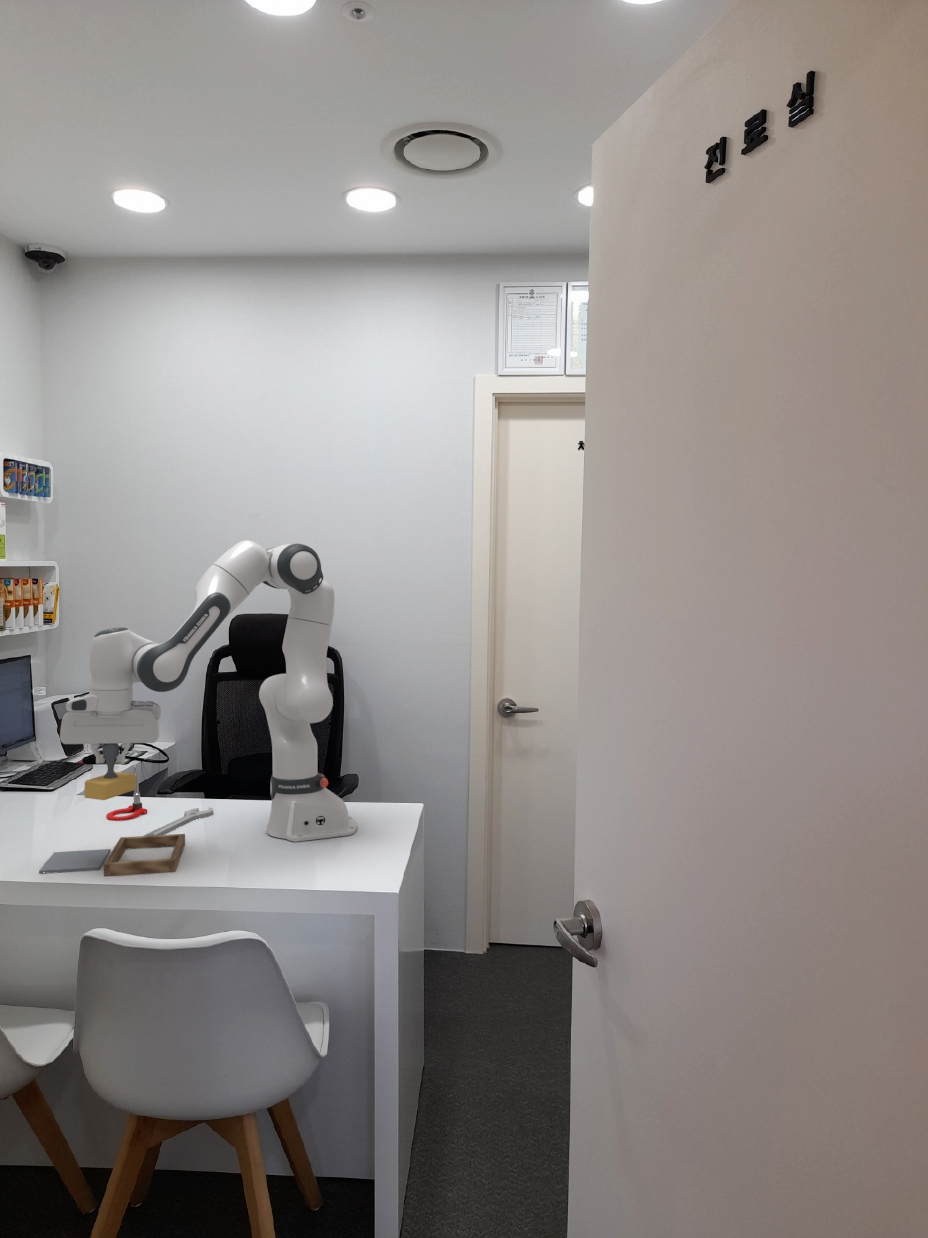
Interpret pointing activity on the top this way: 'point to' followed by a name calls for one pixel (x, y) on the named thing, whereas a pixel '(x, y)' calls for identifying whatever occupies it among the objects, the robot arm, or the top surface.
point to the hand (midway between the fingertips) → (110, 763)
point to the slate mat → (75, 861)
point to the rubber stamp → (110, 778)
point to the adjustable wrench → (182, 821)
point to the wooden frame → (144, 866)
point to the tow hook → (135, 808)
